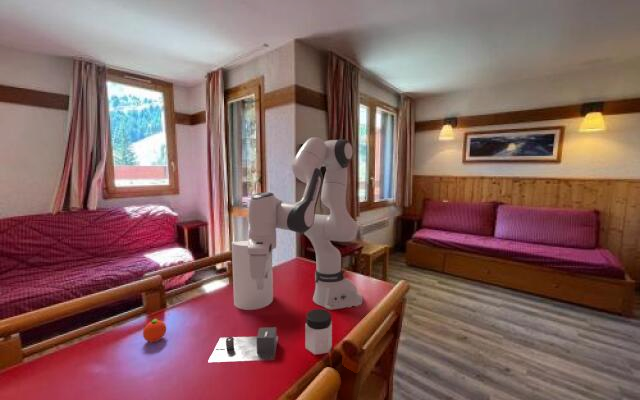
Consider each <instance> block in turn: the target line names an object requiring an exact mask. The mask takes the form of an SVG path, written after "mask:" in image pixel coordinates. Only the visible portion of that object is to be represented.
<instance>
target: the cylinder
mask: <svg viewBox="0 0 640 400" xmlns="http://www.w3.org/2000/svg"><path fill="white" fill-rule="evenodd" d="M248 245H249V240H240V241H231V259H232V260H231V261H232V264H231V265H232V285H233V288H232V289H233V305H234V307H236V308H238V309H240V310H245V311H253V310H258V309H259V310H260V309H263V308H266V307H267V306H269V305H270V304H271V303H272V302H273V301H274V283H273V281H274V278H273V276H274V275H273V271H274V270H273V260H272V261H271V263H270V266H269V270H268V277H267V278H264V279H263V283H264V285H263V286H264V287H263V289H262V290H258V289H257V283H256V280H252V278H251V274H250V261H249V257H250V254H248V253H247V249H248Z"/></svg>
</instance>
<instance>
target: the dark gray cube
mask: <svg viewBox="0 0 640 400" xmlns="http://www.w3.org/2000/svg"><path fill="white" fill-rule="evenodd" d="M256 336H257V353H275V354H276V352H275V348H276V349H277V346H276V342H277V343H278V340H277V336H278V335H277V326H274V327H272V326H271V327H259V329H258V333H257V335H256Z"/></svg>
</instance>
